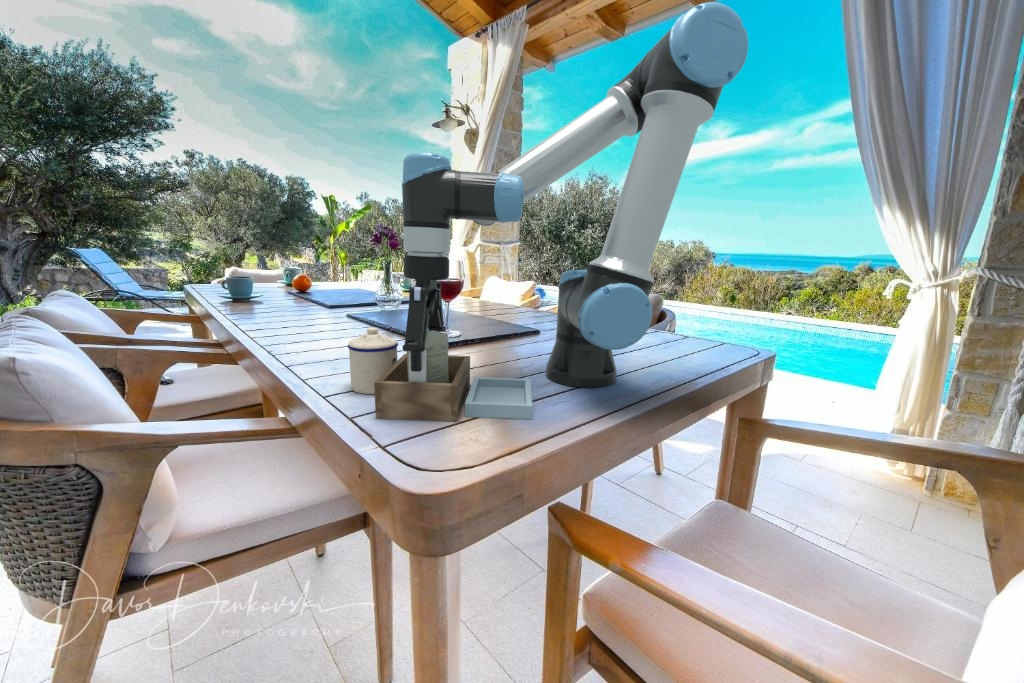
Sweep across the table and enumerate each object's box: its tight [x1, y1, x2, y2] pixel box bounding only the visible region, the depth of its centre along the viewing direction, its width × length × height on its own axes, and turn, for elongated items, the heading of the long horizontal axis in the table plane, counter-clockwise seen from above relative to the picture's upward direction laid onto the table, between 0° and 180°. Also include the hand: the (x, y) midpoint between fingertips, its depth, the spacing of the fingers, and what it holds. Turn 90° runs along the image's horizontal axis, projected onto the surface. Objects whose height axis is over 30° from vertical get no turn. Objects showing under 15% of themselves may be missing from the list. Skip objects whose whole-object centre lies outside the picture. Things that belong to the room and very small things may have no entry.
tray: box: [464, 376, 533, 420], centre depth 75 cm, size 11×14×2 cm
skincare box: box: [405, 330, 449, 383], centre depth 74 cm, size 6×4×12 cm
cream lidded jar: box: [347, 327, 399, 395], centre depth 80 cm, size 12×9×12 cm
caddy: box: [374, 353, 471, 422], centre depth 74 cm, size 13×18×6 cm
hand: (426, 376), depth 74 cm, fingers open, 13 cm apart
